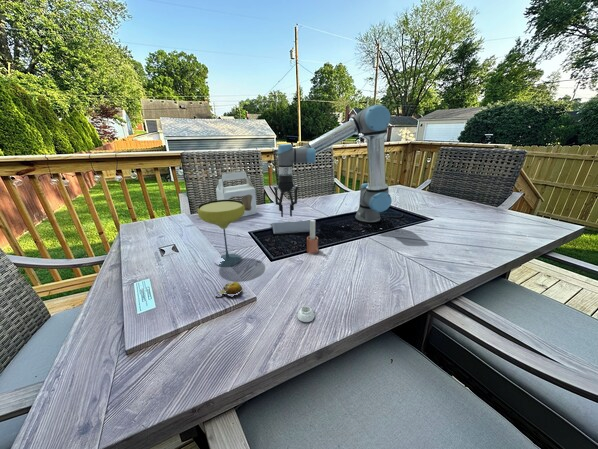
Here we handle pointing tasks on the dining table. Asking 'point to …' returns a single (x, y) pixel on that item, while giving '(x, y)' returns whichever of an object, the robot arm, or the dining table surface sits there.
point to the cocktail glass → (222, 221)
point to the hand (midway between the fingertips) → (286, 215)
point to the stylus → (312, 229)
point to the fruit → (232, 289)
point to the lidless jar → (305, 314)
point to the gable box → (238, 191)
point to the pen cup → (312, 245)
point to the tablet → (291, 227)
